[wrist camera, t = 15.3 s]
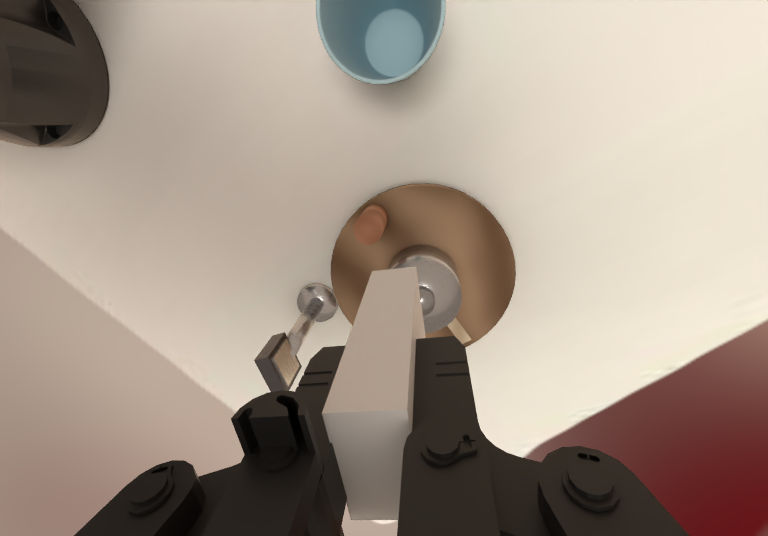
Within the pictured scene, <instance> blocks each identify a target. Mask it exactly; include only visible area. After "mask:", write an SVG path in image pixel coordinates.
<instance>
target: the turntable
mask: <svg viewBox="0 0 768 536" xmlns="http://www.w3.org/2000/svg"><path fill="white" fill-rule="evenodd" d="M419 244H425V245H431V246H434V247H437V248H439V249H441V250H443V251H444V252H445V253H447V254H448V255H449V256H450V257H451V259H452V260H453V262H454V263H455V266H456V268H457V272H458V277H459V283H460V288H461V294H462V302H461V307H460V310H459V312H458V314H457V316H456V317H455V318H454V320H453V321H452V322H451V323H450V324H448V325H447V326H446V327H444V328H442V329H440V330H438V331H435V332H431V333H425V336H426V338H433V337H446V336H455V337H456V338H457V339H458V340H459V341H460V342H461V343H462V344H463V345H464V346H465V347H467V346H469V345H471V344H473V343H474V342H476V341H478V340H479V339H480V338H482V337H483V336H484V335H486V334H487V333H488V332H489V331H490V330H491V329H492V328H493V327H494V326H495V325H496V324H497V322H498V321H499V320H500V318H501V317H502V316H503V314H504V312H505V310H506V309H507V307H508V305H509V302H510V300H511V297H512V294H513V289H514V285H515V275H516V272H515V260H514V255H513V250H512V248H511V245H510V242H509V239H508V237H507V236H506V234H505V232H504V230H503V228H502V227H501V225H500V224H499V223H498V221H497V220H496V219H495V217H494V216H493V215H492V214H491V213H490V212H489V211H488V210H487V209H486V208H485V207H484V206H483V205H482V204H481V203H479V202H478V201H477V200H475V199H474V198H472V197H470V196H468V195H467V194H465V193H463V192H460V191H458V190H455V189H453V188H450V187H446V186H441V185H435V184H410V185H404V186H400V187H396V188H393V189H390V190H387V191H385V192H383V193H381V194H379V195H377V196H375V197H374V198H372V199H370V200H369V201H368V202H366V203H365V204H364V205H363V206H362V207H360V208H359V209H358V210H357V211H356V213H355V214H354V215H353V216H352V217H351V218H350V219H349V221H348V222H347V223H346V225H345V226H344V228H343V229H342V231H341V233H340V235H339V237H338V239H337V241H336V244H335V247H334V250H333V255H332V261H331V280H332V286H333V290H334V294H335V297H336V299H337V302H338V304H339V306H340V308H341V310H342V312H343V314H344V315H345V316H346V318H347V319H348V321H349V322H350V323H351V324H352V325H353V324H354V321H355V318H356V315H357V312H358V310H359V307H360V304H361V301H362V298H363V295H364V293H365V290H366V287H367V284H368V281H369V278H370V276H371V273H372V271H378V270H387V269H388V266H389V264H390V262H391V260H392V259H393V257H394V256H395V255H396V254H397V253H398V252H400V251H401V250H403V249H405V248H407V247H409V246H413V245H419Z"/></svg>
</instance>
